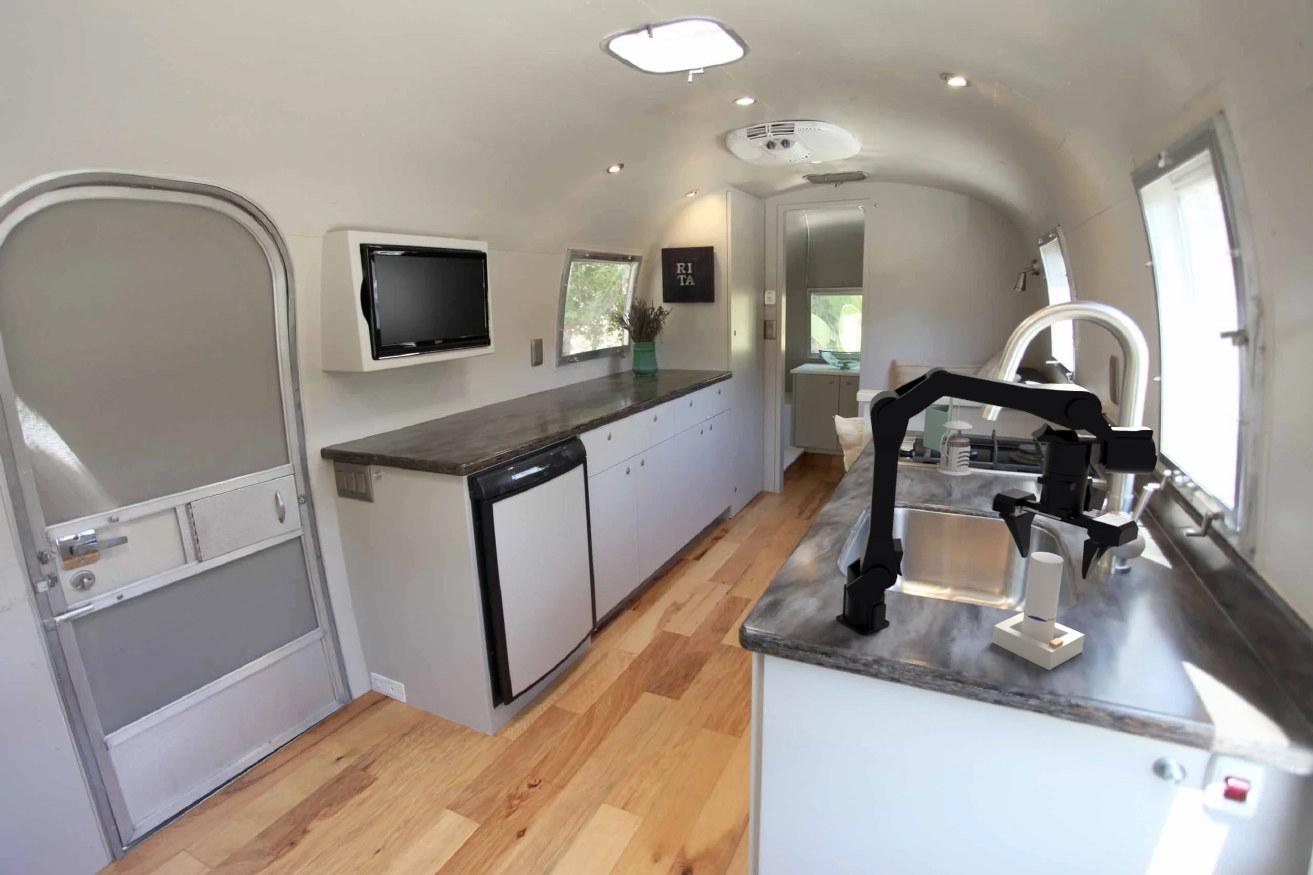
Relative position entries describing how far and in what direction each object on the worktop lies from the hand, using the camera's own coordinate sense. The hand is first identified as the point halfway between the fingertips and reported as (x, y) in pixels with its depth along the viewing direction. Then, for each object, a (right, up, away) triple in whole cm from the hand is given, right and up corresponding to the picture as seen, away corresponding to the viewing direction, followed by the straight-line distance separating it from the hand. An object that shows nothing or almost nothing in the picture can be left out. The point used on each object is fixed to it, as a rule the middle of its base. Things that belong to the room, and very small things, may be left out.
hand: (1053, 567), depth 100 cm
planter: (+34, +17, +121) cm, 127 cm away
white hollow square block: (-1, -13, +2) cm, 13 cm away
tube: (-1, -13, +2) cm, 13 cm away
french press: (+27, +10, +94) cm, 98 cm away
